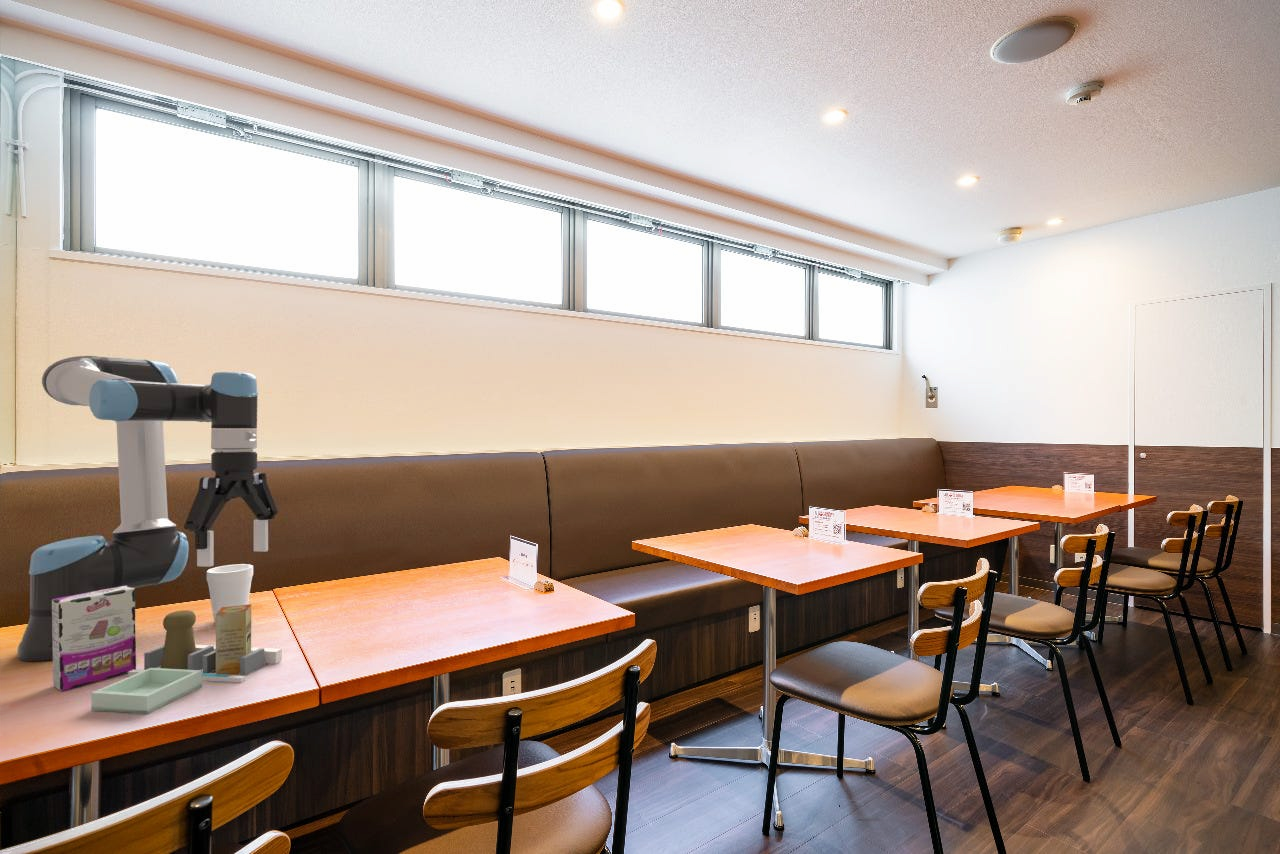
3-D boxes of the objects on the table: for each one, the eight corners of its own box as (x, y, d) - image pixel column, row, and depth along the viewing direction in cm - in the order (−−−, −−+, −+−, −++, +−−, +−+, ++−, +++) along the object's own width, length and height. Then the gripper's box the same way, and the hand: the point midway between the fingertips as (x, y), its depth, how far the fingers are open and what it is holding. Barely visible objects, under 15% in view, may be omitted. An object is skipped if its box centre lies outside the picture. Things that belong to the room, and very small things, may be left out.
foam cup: (235, 627, 142) (235, 573, 142) (197, 627, 142) (197, 573, 142) (261, 614, 151) (261, 564, 151) (225, 614, 152) (225, 564, 152)
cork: (182, 673, 115) (182, 616, 115) (151, 673, 115) (151, 616, 115) (205, 661, 121) (205, 607, 121) (176, 660, 121) (176, 607, 121)
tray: (91, 710, 100) (91, 692, 100) (150, 683, 110) (150, 667, 110) (147, 714, 99) (147, 696, 99) (201, 686, 109) (201, 670, 109)
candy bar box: (127, 666, 119) (127, 584, 119) (136, 671, 116) (137, 587, 116) (50, 686, 109) (50, 597, 109) (59, 693, 107) (59, 602, 107)
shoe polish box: (251, 663, 120) (251, 604, 120) (246, 672, 116) (246, 611, 116) (222, 667, 118) (222, 607, 118) (215, 676, 114) (215, 614, 114)
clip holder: (127, 675, 114) (128, 657, 114) (177, 655, 124) (177, 638, 124) (241, 682, 111) (241, 663, 111) (281, 660, 121) (281, 643, 121)
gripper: (197, 453, 104) (197, 573, 104) (296, 448, 129) (296, 546, 129) (159, 453, 105) (159, 572, 105) (264, 448, 130) (264, 545, 130)
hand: (234, 558), depth 117 cm, fingers open, 13 cm apart
